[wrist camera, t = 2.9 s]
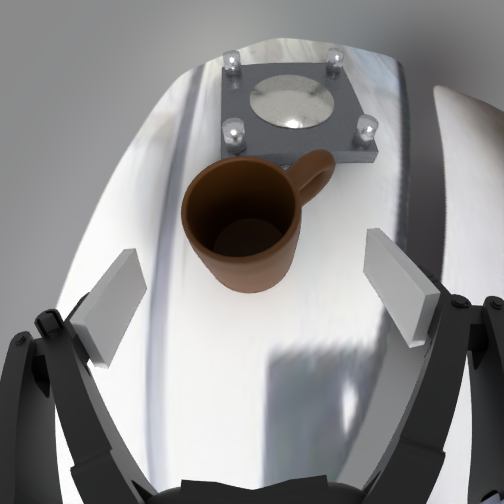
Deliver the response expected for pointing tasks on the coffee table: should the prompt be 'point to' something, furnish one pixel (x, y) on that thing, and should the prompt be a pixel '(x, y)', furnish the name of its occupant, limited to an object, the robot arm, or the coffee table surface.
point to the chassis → (293, 112)
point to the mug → (251, 216)
